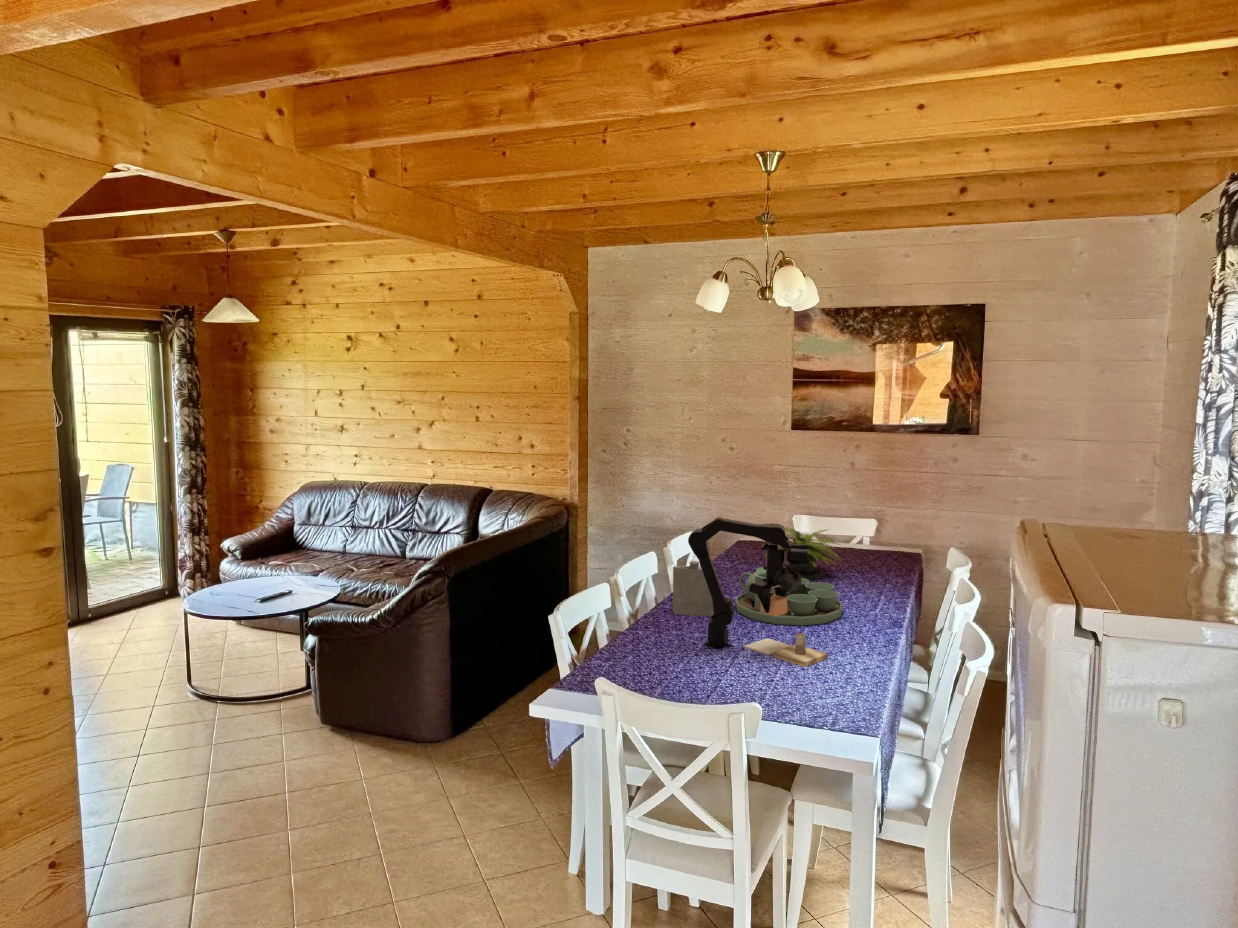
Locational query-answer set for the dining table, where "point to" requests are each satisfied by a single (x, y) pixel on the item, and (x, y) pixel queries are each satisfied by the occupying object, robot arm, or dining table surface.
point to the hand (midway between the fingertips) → (773, 610)
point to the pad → (767, 646)
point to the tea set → (792, 602)
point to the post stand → (800, 653)
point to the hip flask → (691, 591)
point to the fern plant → (810, 554)
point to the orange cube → (776, 606)
